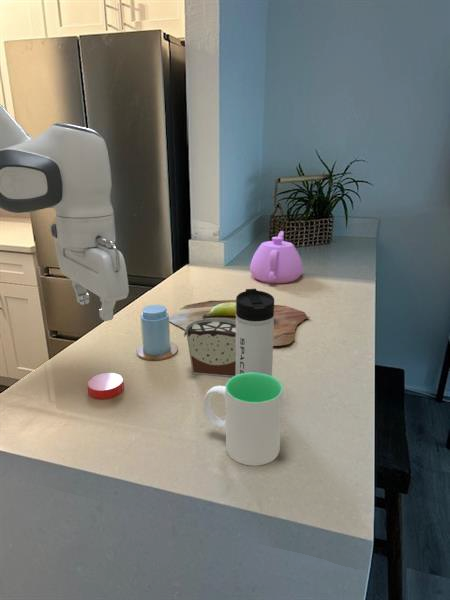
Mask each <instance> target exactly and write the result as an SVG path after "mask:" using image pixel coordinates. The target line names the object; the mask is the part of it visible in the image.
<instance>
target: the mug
mask: <svg viewBox="0 0 450 600" xmlns="http://www.w3.org/2000/svg"><path fill="white" fill-rule="evenodd" d="M213 394H218V395H220V396H221V397H222V398H223V399H224V403H225V419H224V420H223V419H221V418H219V416H217V415H216V414H215V412H214V410H213V408H212V403H211V398H212V395H213ZM282 407H283V385H282V383H281V381H280V380H279V379H278V378H276V377H274V376H273V375H272V376H270V375H267V374H263V373H255V372H250V373H242V374H238V375H236V376H234V377H229V379H228V380H227V381H226V383H225V385H215V386H213V387H211V388H210V389H208V390H207V392H206V393H205V396H204V399H203V410H204V413H205V416H206V419H208V421H209V422H210V423H211V424H212V425H213V426H215V427H216V428H218V429H220V430H223V431H224V433H225V451H226V453H227V454H228V456H229V457H230V458H231V459H232V460H234V461H235V462H236V463H239V464H242V465H246V466H249V467H250V466H253V467H256V466H257V467H258V466H264V465H267V464H270V463H272V462H273V461H274V460H276V458H277V457H278V456H279V454H280V450H281V429H282Z"/></svg>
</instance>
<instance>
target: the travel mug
mask: <svg viewBox="0 0 450 600" xmlns="http://www.w3.org/2000/svg"><path fill="white" fill-rule="evenodd" d="M235 300H236V309H237V310H236V375H238V374H242V373H250V372H255V373H263V374H267V375H270V376H272V377H273V361H274V360H273V357H274V346H273V332H274V305H275V298H274V296H273V295H272V294H270V293H268V292H266V291H264V290H258V289H257V288H246V289H245V291H242V292H239V293H238V294H237V296H236V298H235Z"/></svg>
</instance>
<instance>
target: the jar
mask: <svg viewBox="0 0 450 600" xmlns="http://www.w3.org/2000/svg"><path fill="white" fill-rule="evenodd" d="M141 311H142V312H141V315H140V329H141V330H140V331H141V343H142V344H143V352H144V353H146V354H148V355H162V354H165V353H167V352H169V351H170V349H171V347H170V342H171V330H170V329H171V328H170V321H169V318H170V314H169V313H168V312H167V307H166V306H164V305H162V304H150V305H146V306H144V307H143V308H142V310H141ZM142 344H141V345H142Z"/></svg>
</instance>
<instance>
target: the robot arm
mask: <svg viewBox="0 0 450 600" xmlns="http://www.w3.org/2000/svg"><path fill="white" fill-rule="evenodd" d="M112 183H113V182H112V170H111V163H110V157H109V151H108V146H107V144H106V141H105V139H104V137H102V135H101V134H100V133H98V132H97V131H96V130H93V129H92V128H87V127H84V126H79V125H74V124H69V123H63V122H56V123H53V124H50V126H49V127H48V128H47V129H46V130H44V131H43V132H41V133H40V134H38V135H36V136H33V137H31V136H30V135H29V133H27V132H26V131H25V130H24V128H22V126H21V125H20V124H19V123H18V122H17V121H16V120H15V119H14V117H13V116H12V115H11V114H10V113H9V111H8V110H7V109H6V108H5V107H4V106H3V105H2V104H1V103H0V209H1V210H4V211H5V212H10V213H14V214H31V213H34V212H37V211H41V210H45V209H54V211H55V216H56V217H55V218H56V220H55V221H54V222H52V223H51V224H50V225H49V232H50V236H51V237H52V238H54V248H55V254H56V259H57V264H58V268H59V270H60V273H61V274H62V275H63V276H65V277H66V278H68V279H70V280H71V285H72V288H73V290H74V294H75V297H76V302H77V303H78V304H79V305H82V306H84V305H88V304H89V303H90V294H89V293H88V291H89V292H91V293H92V294H93V295H95V296H97V297H99V301H100V303H101V307H100V308H99V309H98V313H99V318H100V319H101V320H102V321H104V322H109V321H112V320H113V319H114V309H115V305H116V302H117V301H118V302H119V301H121V300H125V299H127V298H128V296H129V292H130V288H129V287H130V286H129V279H128V272H127V265H126V260H125V257H124V254H123V253H122V252H121V251H120V250H118V248H117V247H116V241H117V239H116V225H115V212H114V211H115V210H114V208H113V204H112V202H111V191H112V187H113V186H112V185H113V184H112Z"/></svg>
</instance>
